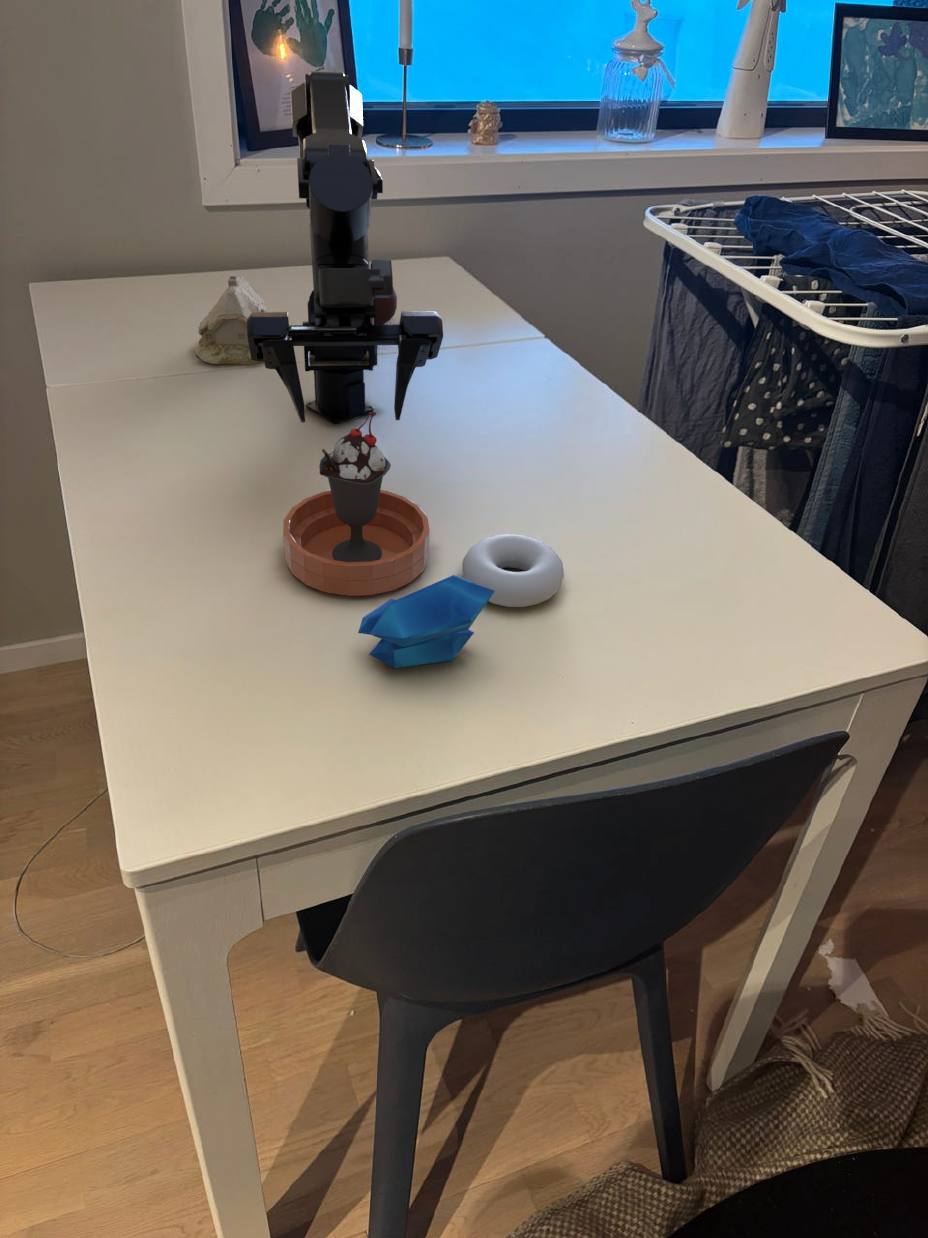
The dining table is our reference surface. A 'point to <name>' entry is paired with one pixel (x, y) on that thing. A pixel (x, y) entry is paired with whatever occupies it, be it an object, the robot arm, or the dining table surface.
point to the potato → (385, 309)
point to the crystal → (426, 623)
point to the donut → (519, 553)
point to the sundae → (355, 490)
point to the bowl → (320, 531)
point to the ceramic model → (229, 325)
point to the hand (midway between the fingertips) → (350, 419)
